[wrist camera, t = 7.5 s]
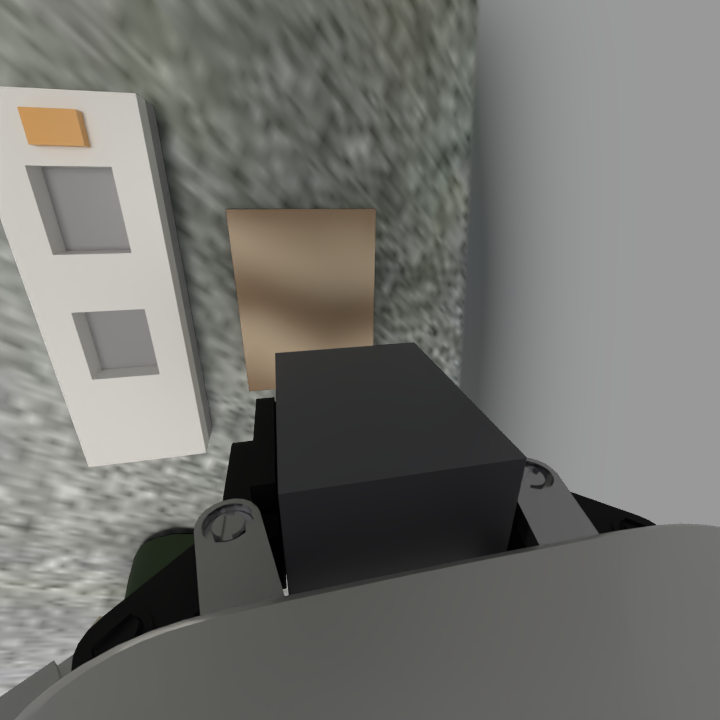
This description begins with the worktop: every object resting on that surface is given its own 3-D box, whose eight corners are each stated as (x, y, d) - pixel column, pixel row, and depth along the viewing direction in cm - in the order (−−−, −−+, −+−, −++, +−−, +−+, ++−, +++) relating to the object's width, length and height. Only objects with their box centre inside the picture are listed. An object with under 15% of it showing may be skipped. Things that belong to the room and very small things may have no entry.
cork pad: (226, 209, 22) (225, 209, 22) (373, 208, 24) (375, 208, 24) (249, 387, 27) (249, 391, 27) (370, 376, 29) (372, 379, 29)
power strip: (-2, 99, 18) (-59, 80, 15) (153, 106, 20) (131, 90, 17) (107, 439, 27) (84, 473, 23) (212, 427, 28) (204, 458, 25)
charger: (274, 339, 12) (278, 493, 6) (402, 330, 13) (526, 457, 7) (287, 473, 15) (299, 692, 8) (396, 458, 15) (485, 646, 9)
